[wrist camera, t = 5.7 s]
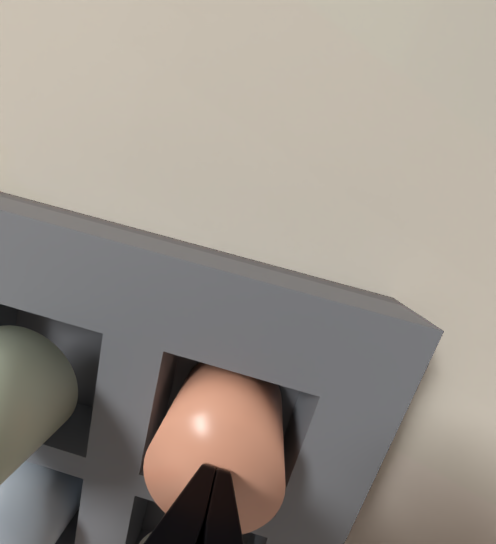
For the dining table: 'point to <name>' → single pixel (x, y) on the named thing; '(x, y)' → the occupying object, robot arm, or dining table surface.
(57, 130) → the dining table surface
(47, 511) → the slate button
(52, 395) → the sage button
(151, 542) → the robot arm
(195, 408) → the terracotta button
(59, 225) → the button board
